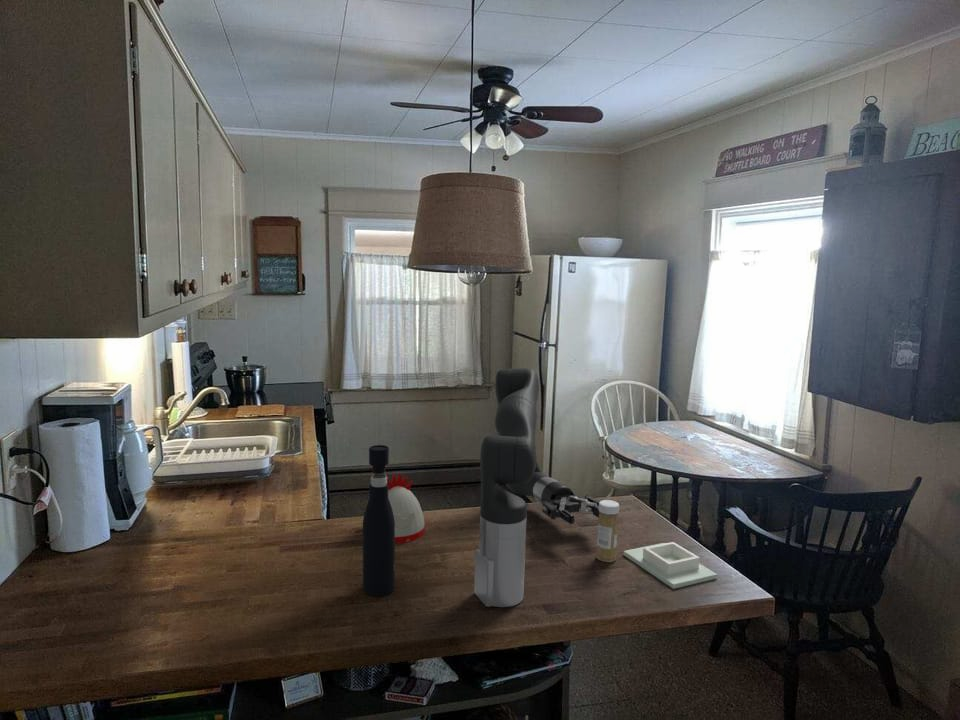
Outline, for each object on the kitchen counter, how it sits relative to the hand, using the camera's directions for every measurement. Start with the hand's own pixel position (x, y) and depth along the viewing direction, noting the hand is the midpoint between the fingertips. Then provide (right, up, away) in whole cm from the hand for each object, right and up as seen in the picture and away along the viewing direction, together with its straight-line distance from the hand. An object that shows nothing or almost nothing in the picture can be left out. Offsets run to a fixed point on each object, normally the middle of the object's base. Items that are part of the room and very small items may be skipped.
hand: (588, 517), depth 157 cm
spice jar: (+3, -8, -6) cm, 11 cm away
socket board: (+17, -9, -9) cm, 21 cm away
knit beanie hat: (-47, -5, +6) cm, 47 cm away
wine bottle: (-47, -10, -22) cm, 52 cm away
